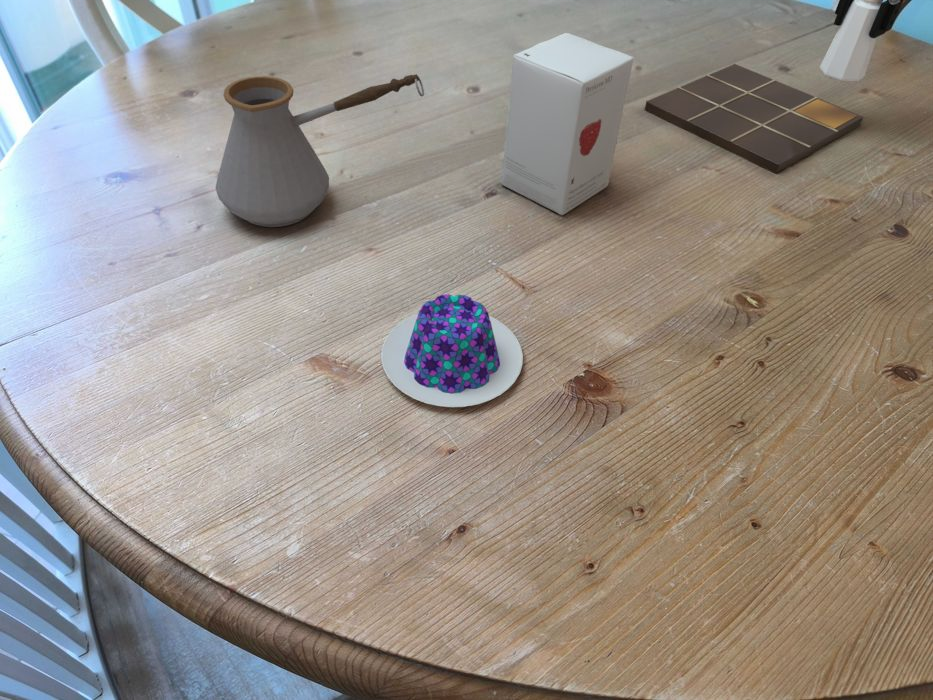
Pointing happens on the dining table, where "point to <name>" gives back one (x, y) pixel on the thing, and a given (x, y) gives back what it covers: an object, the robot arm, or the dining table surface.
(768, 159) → the board
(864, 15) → the pepper shaker
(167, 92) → the dining table surface
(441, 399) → the pudding
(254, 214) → the coffee pot
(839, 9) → the robot arm
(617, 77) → the rectangular carton
